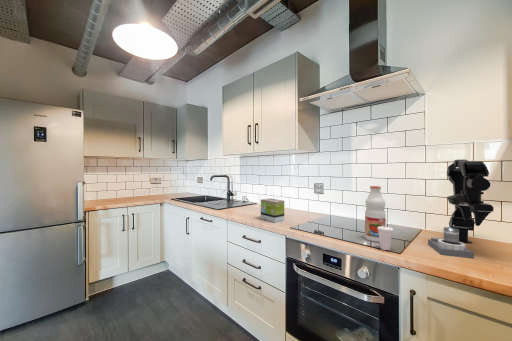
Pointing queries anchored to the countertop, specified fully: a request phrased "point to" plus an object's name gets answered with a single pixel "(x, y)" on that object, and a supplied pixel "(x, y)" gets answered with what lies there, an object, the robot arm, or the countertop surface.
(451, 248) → the camera body
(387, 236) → the smoothie
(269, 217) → the tea box
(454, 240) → the lens
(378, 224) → the fruit juice
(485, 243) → the countertop surface
